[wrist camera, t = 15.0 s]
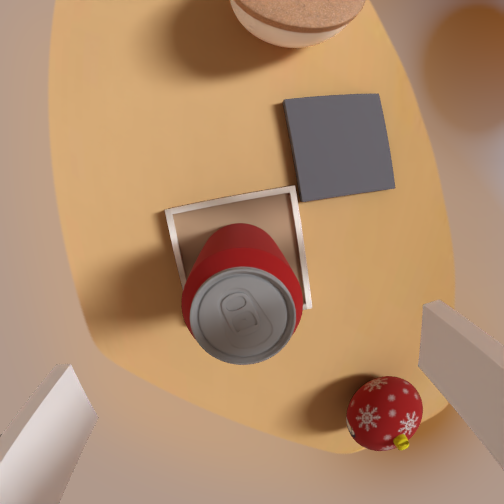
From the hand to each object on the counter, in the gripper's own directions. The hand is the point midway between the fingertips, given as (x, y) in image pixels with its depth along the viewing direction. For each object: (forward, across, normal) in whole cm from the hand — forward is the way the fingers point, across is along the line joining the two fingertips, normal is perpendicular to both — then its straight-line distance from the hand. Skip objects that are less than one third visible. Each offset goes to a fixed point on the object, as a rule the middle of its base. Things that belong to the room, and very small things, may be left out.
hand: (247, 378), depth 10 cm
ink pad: (+19, +10, +8) cm, 23 cm away
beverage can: (+18, 0, 0) cm, 18 cm away
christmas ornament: (+18, +12, -20) cm, 29 cm away
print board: (+18, 0, 0) cm, 18 cm away
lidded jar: (+19, +8, +22) cm, 30 cm away
